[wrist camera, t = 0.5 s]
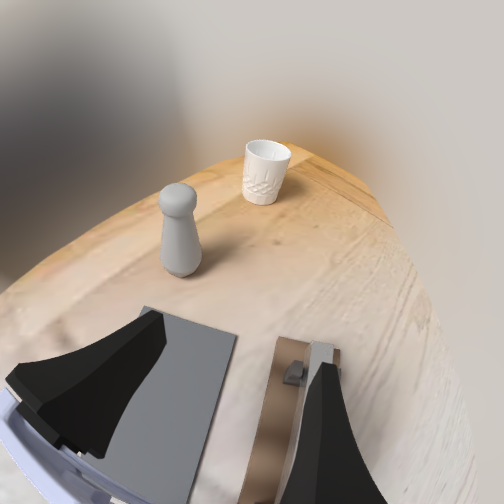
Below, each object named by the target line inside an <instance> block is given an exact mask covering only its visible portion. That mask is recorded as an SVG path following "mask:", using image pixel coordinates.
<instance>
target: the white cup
mask: <svg viewBox="0 0 504 504" xmlns="http://www.w3.org/2000/svg"><path fill="white" fill-rule="evenodd" d="M290 158H291V151H290V150H289V149H288V148H287V147H285V146H284V145H282V144H280V143H277V142H274V141H269V140H253V141H251V142H249V143H247V145H246V152H245V161H244V171H243V186H242V194H243V197H244V198H245V199H246V200H247V201H249V202H251V203H253V204H256V205H269V204H272V203H273V202H275V201H276V198H277V195H278V192H279V189H280V188H281V185H282V182H283V180H284V177H285V173H286V170H287V167H288V164H289V161H290Z"/></svg>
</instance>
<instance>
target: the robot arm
mask: <svg viewBox="0 0 504 504" xmlns="http://www.w3.org/2000/svg"><path fill="white" fill-rule="evenodd" d="M166 344H167V338H166V332H165V324H164V317H163V314H162V313H160V312H157V311H155V310H150V311H149V312H147V313H145V314H144V315H142V316H140V317H139V318H137V319H135V320H134V321H132V322H131V323H129V324H127V325H126V326H124V327H122V328H121V329H119V330H117V331H115V332H114V333H112V334H110V335H108V336H107V337H105V338H103V339H101V340H99V341H97V342H95V343H93V344H91V345H89V346H86V347H84V348H82V349H79V350H77V351H74V352H71V353H68V354H65V355H62V356H59V357H55V358H51V359H47V360H42V361H36V362H29V363H19V364H18V365H17V366H16V367H15V368H14V369H13V370H12V372H11V373H10V374H9V375H8V376H7V377H6V378H5V380H6V382H7V383H8V384H9V385H10V387H11V388H12V389H13V390H14V391H15V392H16V394H17V395H18V396H19V397H20V398H21V399H22V402H21V403H20V402H19V401H18V400H17V399H16V398H15V397H14V396H13V394H12V393H11V392H10V391H9V390H8V389H7V388H6V387H4V389H3V390H2V391H1V392H0V441H1V442H2V444H3V445H4V447H5V448H6V450H7V451H8V453H9V454H10V456H11V457H12V458H13V460H14V461H15V463H16V464H17V465H18V467H19V468H20V469H21V471H22V472H23V473H24V474H25V476H26V477H27V478H28V479H29V481H30V482H31V483H32V484H33V485H34V486H35V488H36V489H37V490H38V491H39V492H40V493H41V494H42V495H43V497H44V498H45V499H46V500H47V501H48V502H49V503H50V504H114V503H112V502H110V499H111V498H112V497H111V495H110V494H108V493H107V492H106V491H104V490H103V489H101V488H100V487H98V486H97V485H95V484H94V483H92V482H90V481H88V480H87V479H85V478H83V477H82V473H83V474H84V475H86V476H87V477H89V478H90V479H91V480H93V481H94V482H96V483H97V484H99V485H100V486H102V487H103V488H105V489H107V490H108V491H110V492H111V493H113V494H115V495H116V496H118V497H120V498H121V499H123V500H125V501H127V502H128V503H130V504H158V503H156V502H154V501H151V500H149V499H147V498H145V497H143V496H141V495H140V494H138V493H136V492H134V491H132V490H130V489H128V488H127V487H125V486H123V485H121V484H120V483H118V482H116V481H115V480H113V479H111V478H110V477H108V476H107V475H105V474H104V473H102V472H101V471H99V470H98V469H96V468H95V467H93V466H92V465H90V464H89V463H87V462H86V461H85V460H83V459H82V458H81V457H79V456H78V455H77V453H78V452H79V451H80V452H81V453H82V454H84V455H86V453H87V452H88V453H89V454H91V455H92V456H94V457H95V458H97V459H104V458H105V455H106V452H107V449H108V446H109V444H110V441H111V439H112V436H113V434H114V432H115V429H116V427H117V425H118V423H119V421H120V419H121V417H122V415H123V413H124V411H125V409H126V407H127V405H128V403H129V401H130V400H131V398H132V396H133V395H134V393H135V392H136V390H137V389H138V388H139V386H140V385H141V383H142V382H143V381H144V379H145V378H146V377H147V375H148V374H149V372H150V371H151V370H152V368H153V367H154V365H155V364H156V362H157V361H158V359H159V357H160V356H161V354H162V352H163V350H164V348H165V346H166ZM279 504H388V503H387V502H386V500H385V499H384V497H383V496H382V494H381V493H380V491H379V489H378V488H377V486H376V484H375V483H374V481H373V479H372V477H371V475H370V473H369V471H368V469H367V467H366V465H365V463H364V461H363V459H362V456H361V454H360V452H359V449H358V446H357V444H356V441H355V438H354V435H353V433H352V429H351V426H350V423H349V419H348V416H347V412H346V408H345V404H344V400H343V396H342V391H341V386H340V381H339V375H338V368H337V366H336V364H331V363H326V362H322V363H321V365H320V367H319V369H318V371H317V372H316V374H315V376H314V378H313V380H312V382H311V384H310V386H309V388H308V392H307V396H306V400H305V404H304V408H303V415H302V421H301V428H300V434H299V441H298V446H297V452H296V456H295V460H294V463H293V466H292V470H291V473H290V476H289V479H288V482H287V485H286V487H285V490H284V493H283V495H282V498H281V501H280V503H279Z"/></svg>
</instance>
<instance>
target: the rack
mask: <svg viewBox="0 0 504 504" xmlns="http://www.w3.org/2000/svg"><path fill="white" fill-rule="evenodd" d="M309 344H310V343H305V342H301V341H297V340H292V339H288V338H284V337H280V336H279V337H278V339H277V342H276V347H275V352H274V357H273V362H272V366H271V371H270V376H269V380H268V385H267V389H266V394H265V398H264V403H263V407H262V411H261V416H260V420H259V424H258V428H257V432H256V436H255V440H254V444H253V448H252V452H251V456H250V460H249V464H248V467H247V471H246V475H245V479H244V482H243V486H242V489H241V493H240V496H239V500H238V503H237V504H274V502H275V499H276V495H277V491H278V487H279V484H280V480H281V476H282V471H283V467H284V463H285V459H286V454H287V450H288V445H289V440H290V436H291V431H292V426H293V421H294V415H295V410H296V405H297V399H298V393H299V387H300V381H301V376H302V371H303V365H304V355H305V349H306V348H307V347H308V346H309ZM339 358H340V350H339V349H334V350H333V361H332V364H336V366H337V368H338V375H339V381H340V376H341V369H340V368H339Z"/></svg>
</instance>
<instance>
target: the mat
mask: <svg viewBox="0 0 504 504" xmlns="http://www.w3.org/2000/svg"><path fill="white" fill-rule="evenodd" d="M150 310H155V309H152V308H150V307H147V306H144V307H143V309H142V311H141V313H140V315H139V317H140V316H142V315H144V314H145V313H147V312H149V311H150ZM155 311H157V312H160V313H162V314H163V317H164V324H165V332H166V338H167V344H166V346H165V348H164V350H163V352H162V354H161V356H160V357H159V359H158V361H157V362H156V364H155V365H154V367H153V368H152V370H151V371H150V372H149V374H148V375H147V377H146V378H145V379H144V381H143V382H142V383H141V385H140V386H139V388H138V389H137V390H136V392H135V393H134V395H133V396H132V398H131V400H130V401H129V403H128V405H127V407H126V409H125V411H124V413H123V415H122V417H121V419H120V421H119V423H118V425H117V427H116V429H115V432H114V434H113V436H112V439H111V441H110V444H109V446H108V449H107V452H106V455H105V458H104V459H97V458H95V457H94V456H92V455H91V454H89V453H88V452H87V453H86V455H84V454H81V458H82V459H83V460H85V461H86V462H87V463H89V464H90V465H92V466H93V467H95V468H96V469H98V470H99V471H101V472H102V473H104V474H105V475H107V476H108V477H110V478H111V479H113V480H115V481H116V482H118V483H120V484H121V485H123V486H125V487H127V488H128V489H130V490H132V491H134V492H136V493H138V494H140V495H141V496H143V497H145V498H147V499H149V500H151V501H154V502H156V503H158V504H186V502H187V499H188V495H189V492H190V489H191V486H192V482H193V479H194V476H195V472H196V469H197V466H198V462H199V459H200V456H201V453H202V449H203V446H204V442H205V439H206V436H207V432H208V429H209V426H210V422H211V419H212V416H213V412H214V409H215V405H216V402H217V399H218V395H219V392H220V388H221V385H222V382H223V378H224V375H225V371H226V368H227V364H228V361H229V358H230V354H231V351H232V347H233V344H234V340H235V337H236V335H234V334H230V333H227V332H223V331H220V330H217V329H213V328H210V327H207V326H203V325H200V324H197V323H194V322H191V321H188V320H184V319H181V318H178V317H175V316H172V315H170V314H167V313H164V312H161V311H158V310H155ZM139 317H138V318H139ZM82 477H83V478H85V479H87V480H88V481H90V482H92V483H94V484H95V485H97V486H98V487H100V488H101V489H103V490H104V491H106V492H107V493H108V494H110V495H111V496H113V497H115V498H117V499H119V500H121V501H123V502H126V503H128V502H127V501H125V500H123V499H121V498H120V497H118V496H116V495H115V494H113V493H111V492H110V491H108V490H107V489H105V488H103V487H102V486H100V485H99V484H97V483H96V482H94V481H93V480H91V479H90V478H89V477H87V476H86V475H84V474H83V473H82ZM128 504H130V503H128Z"/></svg>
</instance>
